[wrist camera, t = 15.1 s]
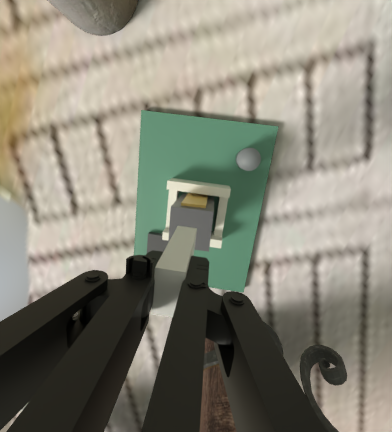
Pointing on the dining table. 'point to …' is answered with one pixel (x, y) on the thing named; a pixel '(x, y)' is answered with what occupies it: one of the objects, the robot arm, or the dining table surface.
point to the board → (204, 185)
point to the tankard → (212, 378)
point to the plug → (194, 217)
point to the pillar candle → (97, 14)
